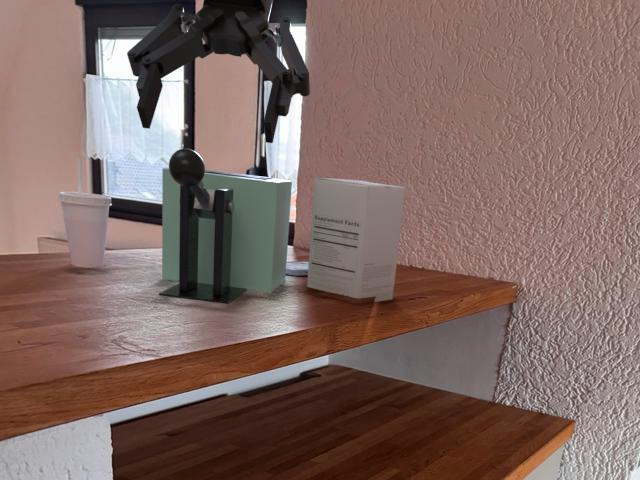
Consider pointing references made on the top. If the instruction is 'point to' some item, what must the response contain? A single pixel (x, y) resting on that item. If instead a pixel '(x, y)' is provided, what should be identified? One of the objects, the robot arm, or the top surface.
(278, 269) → the grey-green box
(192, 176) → the lever
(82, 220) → the smoothie
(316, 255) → the rectangular carton
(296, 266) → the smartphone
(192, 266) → the lever bracket
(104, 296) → the top surface
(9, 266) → the top surface
